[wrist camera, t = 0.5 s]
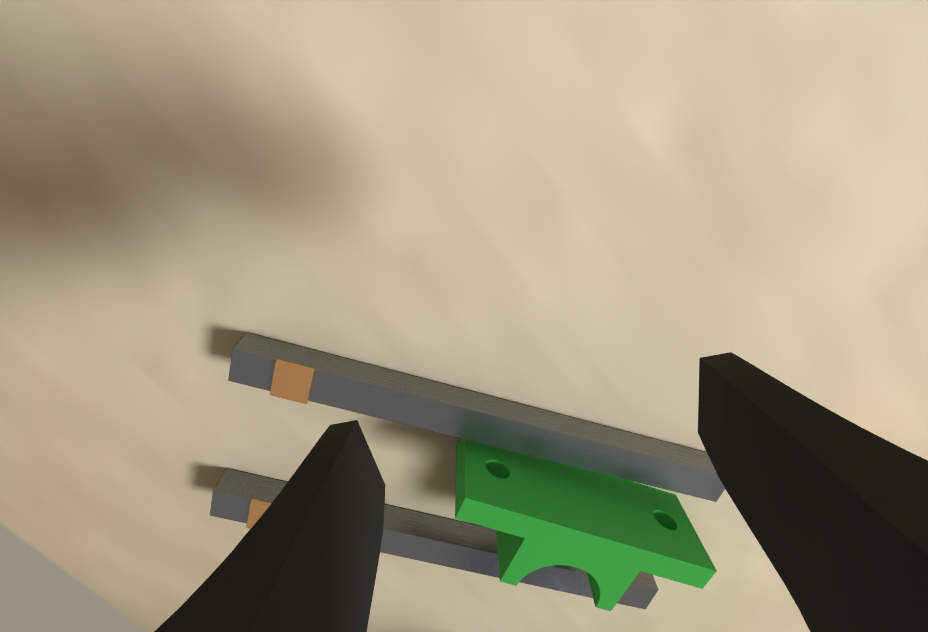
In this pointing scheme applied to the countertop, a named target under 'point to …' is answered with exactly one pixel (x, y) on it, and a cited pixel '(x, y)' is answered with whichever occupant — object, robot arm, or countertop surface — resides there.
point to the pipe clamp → (576, 521)
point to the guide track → (461, 417)
